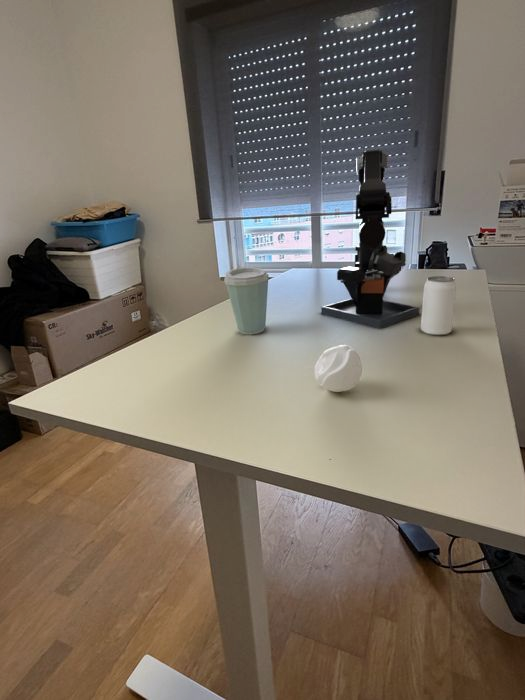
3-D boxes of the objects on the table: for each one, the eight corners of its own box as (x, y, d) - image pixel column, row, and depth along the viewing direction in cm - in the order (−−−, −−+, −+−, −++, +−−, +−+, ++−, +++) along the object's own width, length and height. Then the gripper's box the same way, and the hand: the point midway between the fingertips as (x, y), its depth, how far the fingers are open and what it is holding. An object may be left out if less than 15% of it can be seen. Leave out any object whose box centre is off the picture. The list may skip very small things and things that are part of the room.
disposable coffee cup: (280, 331, 99) (277, 269, 94) (241, 341, 94) (236, 276, 89) (258, 321, 108) (254, 265, 102) (222, 330, 103) (215, 271, 97)
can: (455, 329, 92) (461, 277, 88) (445, 337, 88) (450, 282, 84) (427, 325, 96) (431, 274, 92) (415, 332, 92) (419, 280, 88)
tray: (321, 313, 111) (321, 306, 110) (359, 302, 120) (359, 295, 119) (379, 328, 96) (380, 320, 95) (418, 314, 105) (419, 307, 104)
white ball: (311, 381, 72) (310, 340, 69) (353, 377, 72) (354, 336, 69) (320, 402, 64) (320, 357, 62) (367, 398, 65) (369, 353, 62)
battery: (382, 314, 105) (384, 276, 101) (355, 314, 107) (356, 276, 103) (382, 310, 109) (384, 272, 105) (356, 309, 111) (357, 273, 107)
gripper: (372, 248, 90) (370, 316, 96) (421, 239, 100) (417, 300, 106) (335, 245, 98) (335, 308, 104) (384, 237, 109) (382, 294, 114)
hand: (369, 302), depth 107 cm, fingers open, 9 cm apart
